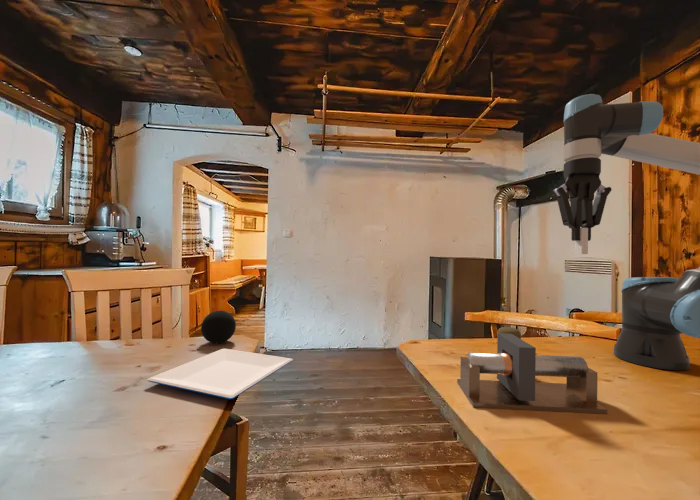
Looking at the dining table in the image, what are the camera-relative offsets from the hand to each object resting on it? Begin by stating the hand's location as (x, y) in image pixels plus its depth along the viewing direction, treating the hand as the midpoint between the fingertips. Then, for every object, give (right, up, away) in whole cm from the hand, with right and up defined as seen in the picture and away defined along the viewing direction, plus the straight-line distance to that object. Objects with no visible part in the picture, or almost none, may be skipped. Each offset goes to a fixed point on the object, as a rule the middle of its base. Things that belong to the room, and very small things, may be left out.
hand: (580, 253), depth 77 cm
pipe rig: (-22, -29, -14) cm, 39 cm away
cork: (-19, -29, -2) cm, 35 cm away
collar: (-24, -28, -14) cm, 39 cm away
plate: (-87, -29, -6) cm, 92 cm away
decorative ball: (-99, -28, +19) cm, 105 cm away
